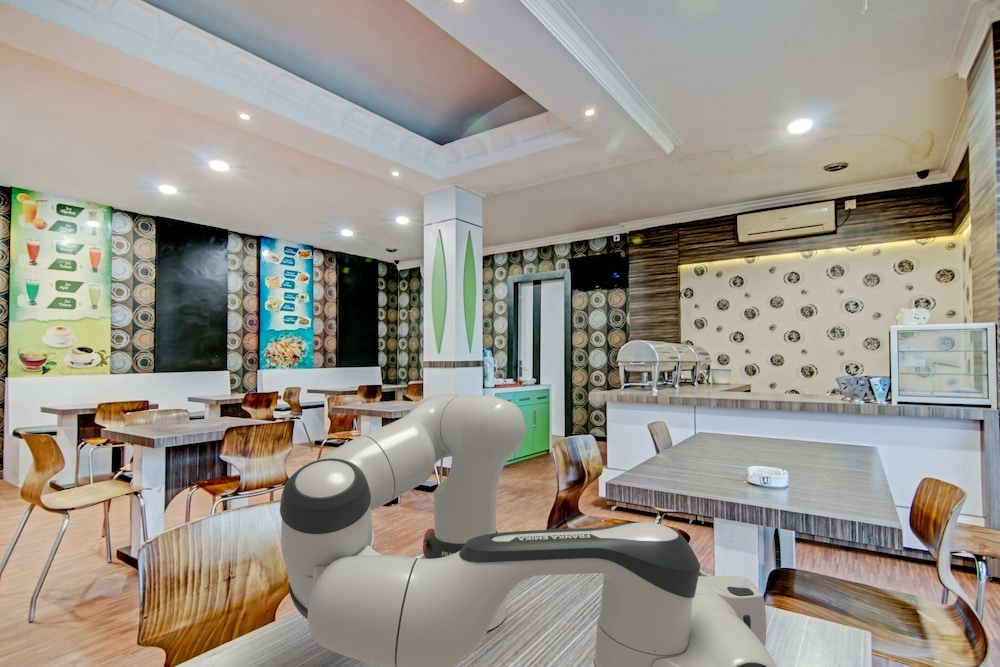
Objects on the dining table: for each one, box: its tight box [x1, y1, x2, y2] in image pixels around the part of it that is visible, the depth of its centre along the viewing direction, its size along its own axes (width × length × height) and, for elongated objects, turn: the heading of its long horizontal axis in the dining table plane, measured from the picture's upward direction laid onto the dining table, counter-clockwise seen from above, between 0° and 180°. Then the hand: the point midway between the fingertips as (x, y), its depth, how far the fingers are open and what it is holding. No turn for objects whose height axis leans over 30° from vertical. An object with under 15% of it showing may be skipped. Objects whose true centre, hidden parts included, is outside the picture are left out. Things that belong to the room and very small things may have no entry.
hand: (665, 574), depth 78 cm, fingers open, 8 cm apart
